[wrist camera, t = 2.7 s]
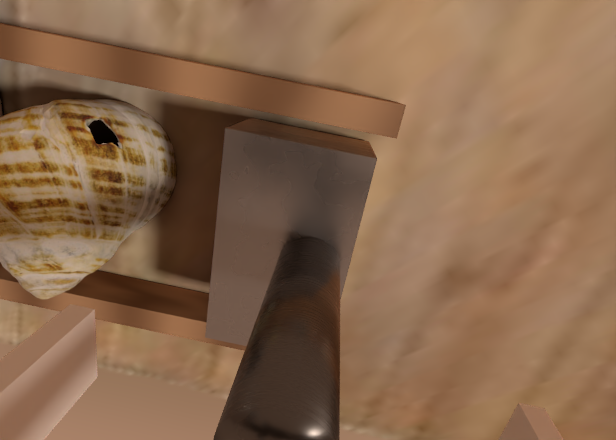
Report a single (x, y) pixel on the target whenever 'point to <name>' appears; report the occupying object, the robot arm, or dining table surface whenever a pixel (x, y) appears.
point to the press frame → (194, 83)
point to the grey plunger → (284, 274)
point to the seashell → (76, 188)
